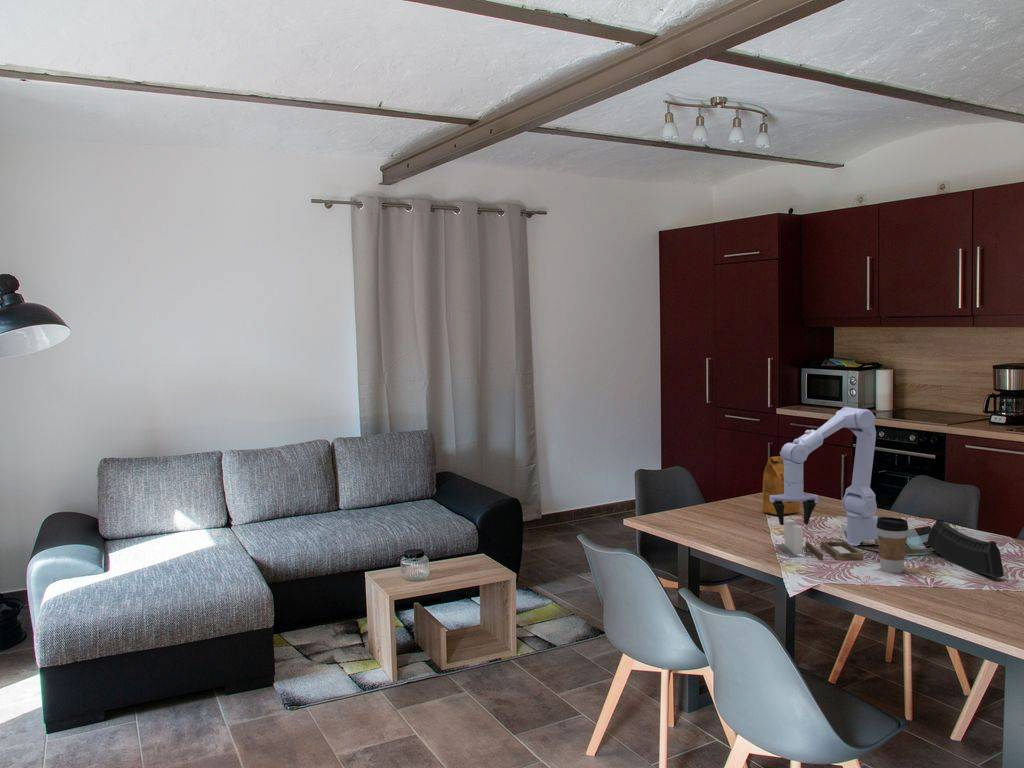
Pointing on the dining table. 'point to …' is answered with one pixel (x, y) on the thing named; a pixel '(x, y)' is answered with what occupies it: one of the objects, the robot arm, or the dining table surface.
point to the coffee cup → (892, 543)
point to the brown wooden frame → (828, 548)
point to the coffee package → (775, 486)
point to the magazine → (966, 550)
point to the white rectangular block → (793, 537)
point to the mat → (788, 552)
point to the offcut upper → (841, 549)
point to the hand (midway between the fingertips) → (793, 524)
